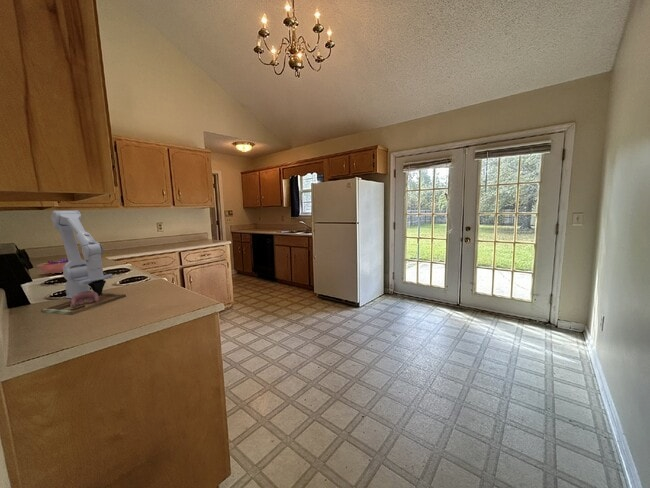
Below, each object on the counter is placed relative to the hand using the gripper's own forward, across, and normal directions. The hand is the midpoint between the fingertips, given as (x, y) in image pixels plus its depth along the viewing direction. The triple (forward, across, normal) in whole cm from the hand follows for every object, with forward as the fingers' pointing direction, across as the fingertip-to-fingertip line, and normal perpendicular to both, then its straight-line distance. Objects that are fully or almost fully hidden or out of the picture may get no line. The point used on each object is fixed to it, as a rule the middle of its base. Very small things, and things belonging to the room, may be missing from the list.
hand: (98, 295), depth 134 cm
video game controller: (+2, -6, 0) cm, 7 cm away
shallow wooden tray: (+2, -6, 0) cm, 6 cm away
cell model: (+2, +44, +94) cm, 104 cm away
